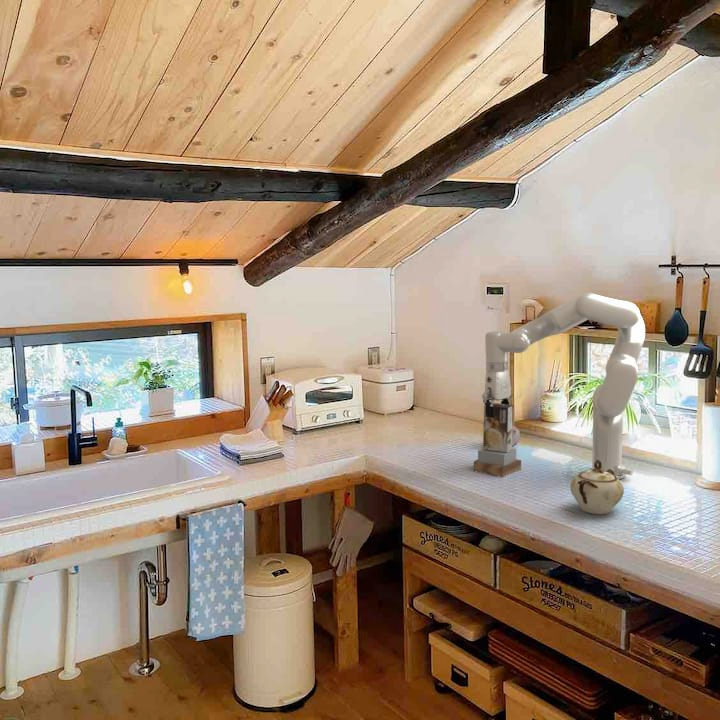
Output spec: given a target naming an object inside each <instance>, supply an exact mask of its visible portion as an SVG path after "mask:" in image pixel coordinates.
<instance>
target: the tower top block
mask: <svg viewBox="0 0 720 720" xmlns="http://www.w3.org/2000/svg"><path fill="white" fill-rule="evenodd" d="M516 459H517V448H514V447H512V450H510V451H509V452H507V453H506V452H499V451H491V450H484V449H483V448H481V449H479V450H477V460H478V462H481V463H488V464H494V465H500V466H505V465H507V464H509V463H511V462H513V461H514V460H516Z"/></svg>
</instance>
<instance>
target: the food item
mask: <svg viewBox="0 0 720 720" xmlns="http://www.w3.org/2000/svg"><path fill="white" fill-rule="evenodd" d="M520 431H521V430H519V429H518V427H517V426H516V425H514V424H513V428H512V447H514V446H516V445H518V443H519V442H520V439H521V438H520V437H521V434H520V433H521V432H520Z"/></svg>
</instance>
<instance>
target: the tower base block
mask: <svg viewBox="0 0 720 720" xmlns="http://www.w3.org/2000/svg"><path fill="white" fill-rule="evenodd" d="M519 470H520V471H522V460H521V459H518V458H516V460H514V461H513V462H511V463H509V464H507V465H505V466H500V465H494V464H488V463H481V462H478V459H477V460H474V461H473V472H475V471H477V472H476V473H480V472H481V474H484V473H486V474H485V475H489V474H490V475H489V476H493V475H495V476H494V477H498V476H500V477H499V478H504V476H505V477H507V476H509V474H510V475H512V474H515V473H517V472H520V471H519ZM516 471H517V472H516ZM514 472H515V473H514ZM506 475H507V476H506Z"/></svg>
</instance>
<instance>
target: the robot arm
mask: <svg viewBox="0 0 720 720" xmlns="http://www.w3.org/2000/svg"><path fill="white" fill-rule="evenodd" d="M588 320H590V321H594V322H597V323H601V324H604V325H609V326H613V327H617V336H616V338H615V342H614V346H613V348H612V351H611V353H610V356H609V357H608V360H607V362H606V364H605V373H606V374H605V377H604V380H603V383H602V384H600V385H599V386H597V387H596V389H594V392H593V394H592V448H591V449H592V450H591V451H592V455H591V456H592V460H591V464H592V465H591V466H592V467H590V468H588V469H587V471H588V470H593V469H595V467H594V463H595V461H596V460H599V461H601V464H602V465H601V466H602V468H601V469H600V470H603V471H606V470H608V469H611V470H613V472H614V476H616V477H617V478H618V479H619V480H623V479H624V478H626V477H627V475H628V476H633V474H634V470H633V468H632V467H626V466H625V462H622V458H623V451H622V450H623V421H624V420H623V413H624V412H625V410H626V409H627V407H628V404H629V402H630V399H631V397H632V394H633V392H634V389H635V387H636V385H637V382H638V377H639V367H638V364H637V363H638V359H639V357H640V355H641V351H642V348H643V345H644V342H645V338H646V325H645V322H644V320H643V317H642V315H641V311H640V309H639V307H638V306H637V305H636V304H635V303H634V302H630V301H627V300H620V299H616V298H611V297H607V296H602V295H599V294H596V293H594V292H585V293H581V294H580V295H578V296H576V297H574V298H573V299H570V300H568V301H567V302H565V303H563V304H561V305H559V306H557V307H555V308H553V309H551V310H549V311H547V312H545V313H544V314H542V315H541V316H538V317H537V318H534V319H532V320H531V321H529V322H526V323H525V324H523V325H521V326H518V328H515V329H514V330H512V331H511V332H505V331H501V330H500V331H498V330H496V331H495V330H494V331H488V332H486V333H485V337H484V340H485V341H484V342H485V346H484V347H485V379H484V392H483V394H482V395H481V398H482V401H483V404H484V405H485V406H486V417H489V418H494V406H493V404H494V403H495V402H496V401H500V404H507V405H510V402H511V397H512V391H513V388H512V385H511V376H510V370H509V362H508V359H509V358H508V353H515V354H521V353H524V352H526V351H527V350H528V349H529V347H530V346H531V345H533V344H535V343H537V342H540V341H541V340H544V339H545V338H548V337H551V336H557V335H559V334H563V333H565V332H566V331H569V330H571V329H572V328H574V327H576V326H578V325H580V324H583V323H584V322H586V321H588ZM598 465H599V464H598V463H597V467H598Z"/></svg>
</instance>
